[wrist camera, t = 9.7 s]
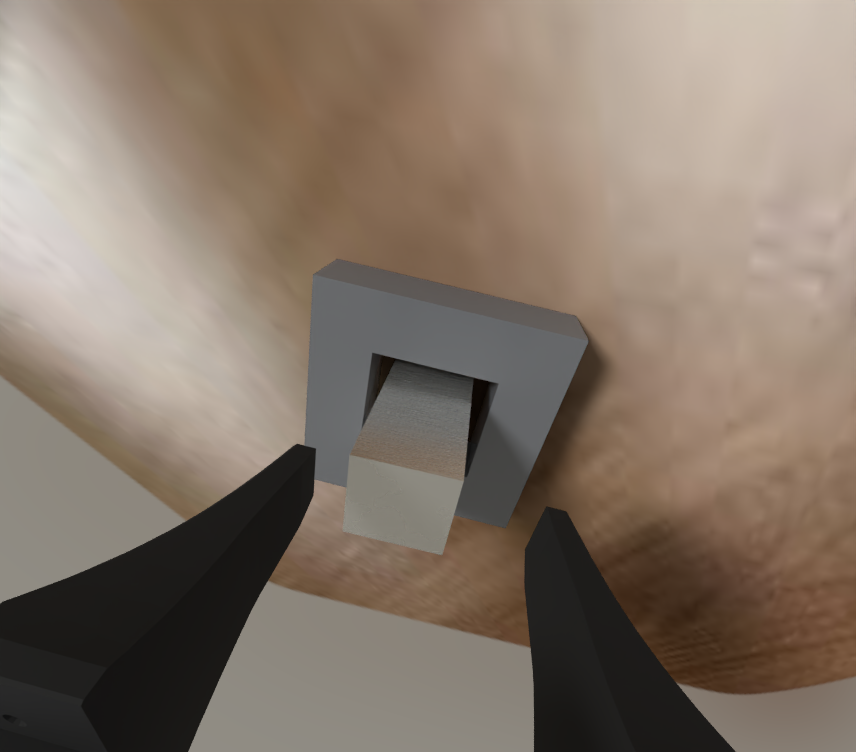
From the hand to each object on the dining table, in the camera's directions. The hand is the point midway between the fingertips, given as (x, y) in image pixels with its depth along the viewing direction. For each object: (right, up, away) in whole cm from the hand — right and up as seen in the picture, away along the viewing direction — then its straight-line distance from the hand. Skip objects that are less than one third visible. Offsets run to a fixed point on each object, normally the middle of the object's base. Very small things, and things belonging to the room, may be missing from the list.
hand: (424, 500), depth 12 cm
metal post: (0, +3, +10) cm, 11 cm away
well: (0, +3, +10) cm, 11 cm away
